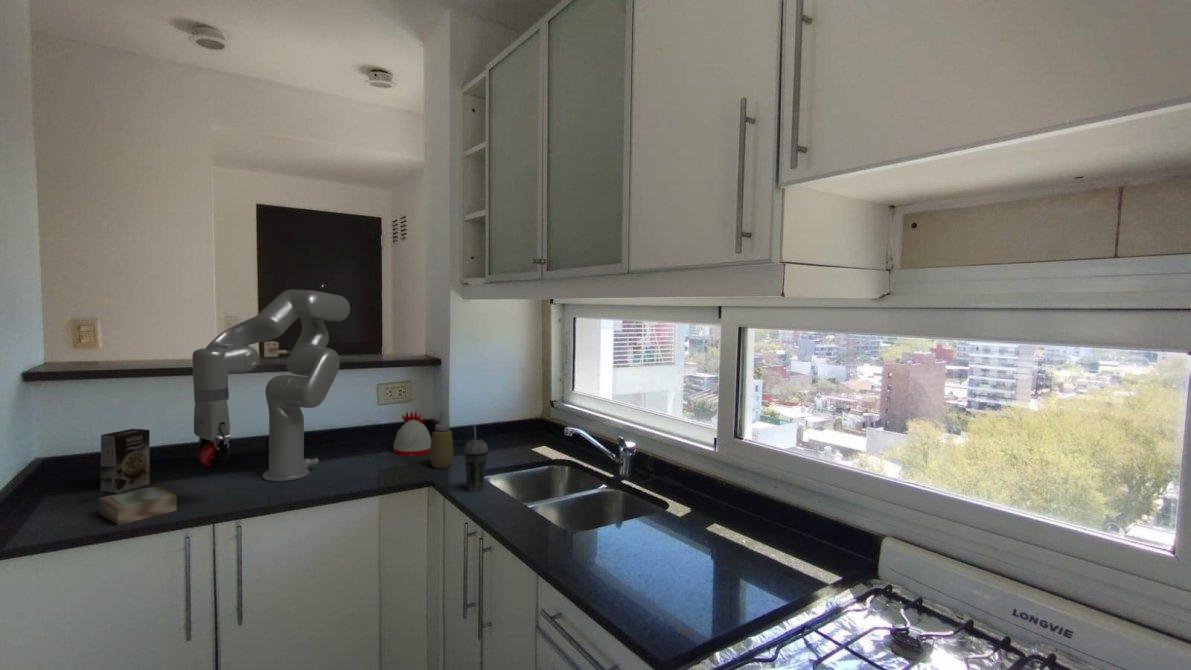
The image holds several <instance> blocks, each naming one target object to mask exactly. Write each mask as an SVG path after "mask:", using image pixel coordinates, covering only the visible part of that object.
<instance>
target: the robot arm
mask: <svg viewBox="0 0 1191 670" xmlns="http://www.w3.org/2000/svg"><path fill="white" fill-rule="evenodd" d="M350 313H351V305H350V303H349V301H348V299H347V298H345V297H344V296H342V295H339V294H332V293H329V292H328V293H327V292H324V291H317V290H312V289H311V290H310V289H286V290H284V291H282V292H281V293H280V294H279V295H277V296H276V297H275V298H274V299H273V300H272V301H270V302H269V304H267V305H266V306H265V307H264V308H263V309H262V310H261V311H260V312H259V313H258V314H256V315H255V316H253V317H251V318H248V319H246V320H243V321H241V322H239V323H238V324H235V325H232V326H230V327H229V328H227V329H225V330H223V331H222V332H221V333H219V334H218V335H217V336H216V337H214V339H213V340H211V341H210V342H209V343H208V345H207V346H206V347H205V348H199V349H196V350H194V351H193V352H192V374H193V375H192V376H193V377H192V378H193V379H192V380H193V398H194V399H193V401H194V406H193V407H194V408H193V409H194V410H193V434H194V435H195V437H198V438H199V439H198V443H199V452H200V451H201V449H202V448H203V447H204V446H205V445H207V444H209V443H211V442H214V445H215V450H214V458H213V460H214V462H213V463H214V465H222V464H225V463H228V462H229V460H230V459H229V455H230V454H229V455H228V450H229V447H230V445H229V444H230V441H231V434H230V432H231V425H230V424H231V423H230V421H231V420H230V414H229V405H228V401H229V400H230V397H229V396H230V394H229V393H230V392H229V374H233V373H234V374H235V373H237V374H239V373H242V374H243V373H246V372H251V371H252V370H253V369H255V368H256V367H257V366H258V364H259V363H260V358H261V357H260V354H259V352H258V350H257V349H255V348H254V347H251V345H254V344H257V343H258V344H259V343H262V342H263V343H264V342H267V341H271V340H275V339H277V338H279V337H281V336H282V335H283V334H284V333H285V332H286V331H287V329H289V328H290V326H292V324H293V323H294V322H296V321H297V320H298V319H299V318H300V322H301V333H300V335H299V337H298V339H297V341H296V342H295V345H294V346H293V349H292V350H291V351H290V353H289V355H288V357H287V360H286V363H285V364H286V369H287V371H288V372H289V373H290V374H280V375H276V376H274V377H272V378H271V379H270V380H269V381H268V382H267V384H266V386H265V390H264V391H265V392H264V393H265V398H266V403H267V409H268V420H269V421H268V422H269V424H268V425H269V427H268V470H266V471H265V472H263V474H262V478H263V479H264V480H265V481H269V482H288V481H293V480H299V479H302V478H304V477H306V476H308V475H309V473H310V469H309V468H308V467H310V466H313V465H314V466H315V465H318V464H319V462H320V461H319V458H318V457H315V458H312V459H311V458H310V457H308V458H305V457H304V453H305V451H304V450H305V449H304V448H305V443H304V442H305V440H304V439H305V437H304V436H305V417H304V414H303V411H302V408H305V409H313V408H316V407H318V406H320V405H321V404H322V403H323V401H324V400H325V398H326V397H327V395H328V393H329V391H330V389H331V387H332V385H333V383H334V382H335V378H336V376H337V374H338V373H339V369H340V364H341V363H340V361H341V360H340V356H339V354H338V352H337V351H336V350H334V349H333V348H330V347H327V345H328V343H329V341H330V336H329V335H330V334H329V332H328V328H327V327H326V325H325V322H324V321H326V322H327V321H328V322H342V321H344V320H345V319H347V318H348V316H349V314H350ZM292 374H293V375H292ZM218 441H220V443H218Z"/></svg>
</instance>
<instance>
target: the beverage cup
mask: <svg viewBox="0 0 1191 670" xmlns="http://www.w3.org/2000/svg"><path fill="white" fill-rule="evenodd" d="M476 427H477V426H476V424H473V434H474V435H473V437H474V438H472V439H470V440H469V441H468V442H466V444H465V447H464V450H463V455H464V460H465V461H464V462H465V475H466V487H467V492H471V493H479V492H482V491H483V488H484V483H485V473H486V466H487V458H488V455H489V448H488V444H487V443H486V442H485V441H484V440H483V439H481V438H478V437H477V431H476V430H477V428H476ZM481 487H482V488H481ZM471 488H472V489H471ZM476 488H478V489H476Z"/></svg>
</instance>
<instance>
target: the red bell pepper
mask: <svg viewBox="0 0 1191 670" xmlns="http://www.w3.org/2000/svg"><path fill="white" fill-rule="evenodd" d="M220 441H221V440H218V443H220ZM214 450H215V445H214V441H211V443H209V444H207V445H205V446H204V447H203V448H202V449H201V451H200V450H199V453H198V456H197V458H198V460H199V461H200V462H201V463H202V464H203V465H204V466H205V467H207V466H208V467H211V466H212V463H211V462H210V460H212V459H213V460H214ZM228 455H230V451H229V449H228Z"/></svg>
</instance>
